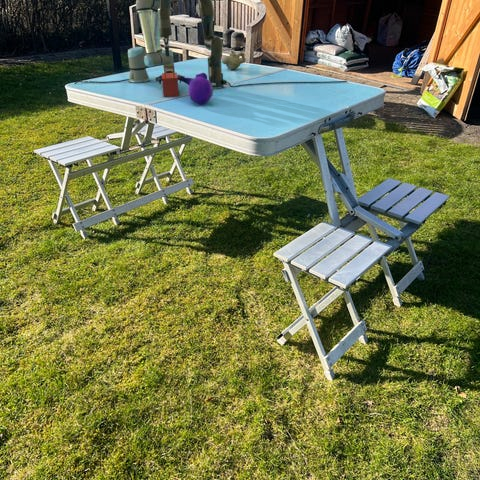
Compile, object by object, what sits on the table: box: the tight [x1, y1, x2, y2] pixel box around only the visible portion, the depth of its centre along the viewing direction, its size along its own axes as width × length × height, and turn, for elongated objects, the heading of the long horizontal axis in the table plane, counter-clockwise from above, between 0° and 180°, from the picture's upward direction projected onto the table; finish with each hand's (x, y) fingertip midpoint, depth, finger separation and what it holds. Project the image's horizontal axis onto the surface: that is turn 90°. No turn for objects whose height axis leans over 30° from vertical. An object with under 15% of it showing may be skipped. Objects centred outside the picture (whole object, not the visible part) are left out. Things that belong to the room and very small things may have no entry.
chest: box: [161, 79, 180, 98], centre depth 297 cm, size 17×10×11 cm, turn 8°
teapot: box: [221, 49, 246, 71], centre depth 371 cm, size 21×12×15 cm, turn 120°
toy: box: [178, 72, 214, 105], centre depth 275 cm, size 16×18×27 cm
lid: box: [161, 64, 178, 80], centre depth 292 cm, size 18×10×8 cm, turn 8°
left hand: (170, 81), depth 302 cm, fingers open, 13 cm apart
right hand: (167, 55), depth 282 cm, fingers open, 8 cm apart
